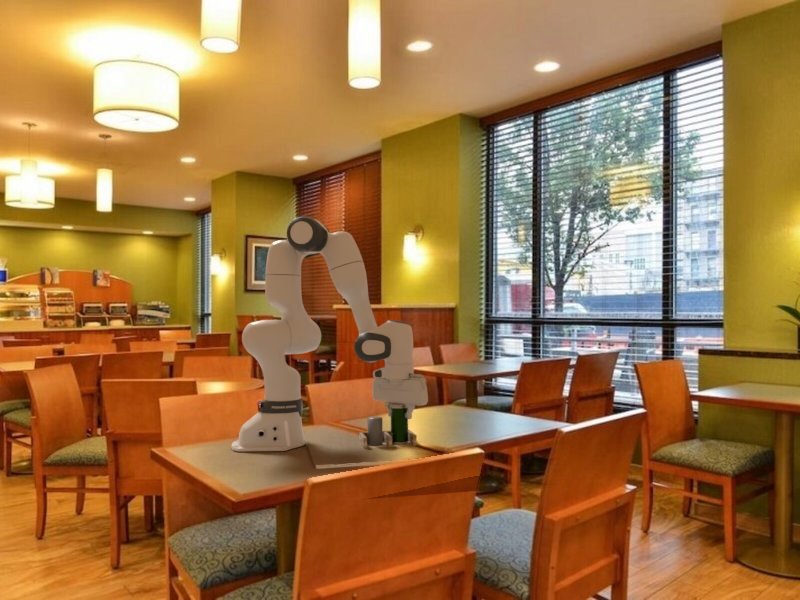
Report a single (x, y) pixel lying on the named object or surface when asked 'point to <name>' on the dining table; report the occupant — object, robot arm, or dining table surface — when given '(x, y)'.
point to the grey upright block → (374, 431)
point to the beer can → (399, 424)
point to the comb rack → (387, 440)
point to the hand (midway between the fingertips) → (399, 417)
